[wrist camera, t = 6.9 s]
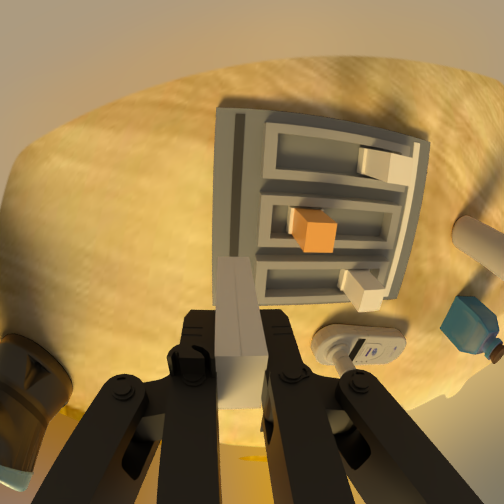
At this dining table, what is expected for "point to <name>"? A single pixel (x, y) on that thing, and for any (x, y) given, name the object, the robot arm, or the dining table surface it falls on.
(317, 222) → the block
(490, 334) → the perfume bottle
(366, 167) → the block
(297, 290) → the panel
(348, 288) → the breaker far
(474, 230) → the beverage can
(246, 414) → the dining table surface
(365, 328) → the electronic device
